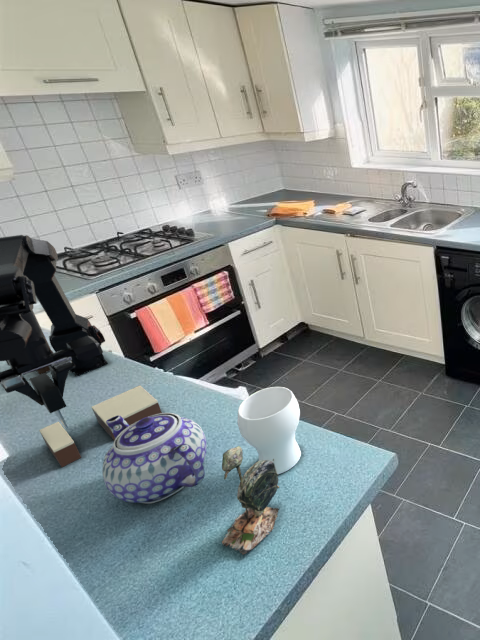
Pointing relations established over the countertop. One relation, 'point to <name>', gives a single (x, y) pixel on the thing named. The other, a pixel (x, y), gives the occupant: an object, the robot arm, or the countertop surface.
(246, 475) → the bird figurine
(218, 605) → the countertop surface
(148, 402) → the cake loaf
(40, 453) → the countertop surface
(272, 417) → the cup
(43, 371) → the knife block
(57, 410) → the black handle
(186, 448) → the teapot
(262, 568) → the countertop surface
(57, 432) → the cream-topped brown block
